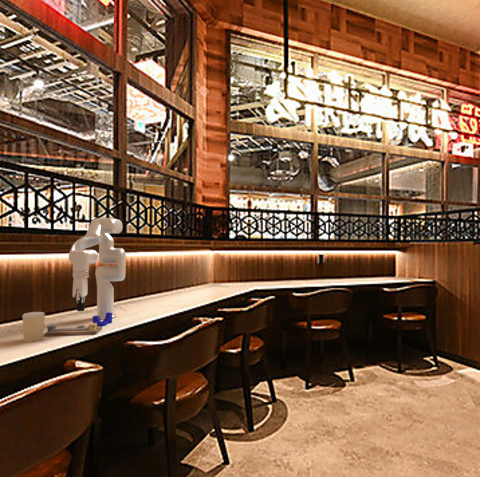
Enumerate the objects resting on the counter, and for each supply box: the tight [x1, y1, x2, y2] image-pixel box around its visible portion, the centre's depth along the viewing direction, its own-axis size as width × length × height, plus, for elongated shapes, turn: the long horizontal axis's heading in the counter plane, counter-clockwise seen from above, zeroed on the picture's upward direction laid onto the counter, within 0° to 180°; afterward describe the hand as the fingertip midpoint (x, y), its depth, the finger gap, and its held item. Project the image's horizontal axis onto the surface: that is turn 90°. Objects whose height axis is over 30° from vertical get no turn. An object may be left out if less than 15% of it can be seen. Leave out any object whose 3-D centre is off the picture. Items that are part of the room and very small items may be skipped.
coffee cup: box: [21, 311, 46, 342], centre depth 173 cm, size 9×9×12 cm
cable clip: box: [92, 312, 113, 328], centre depth 204 cm, size 12×4×6 cm, turn 160°
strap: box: [55, 324, 89, 331], centre depth 186 cm, size 16×5×1 cm, turn 97°
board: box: [44, 322, 103, 337], centre depth 186 cm, size 12×24×4 cm, turn 97°
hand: (80, 310), depth 187 cm, fingers closed
